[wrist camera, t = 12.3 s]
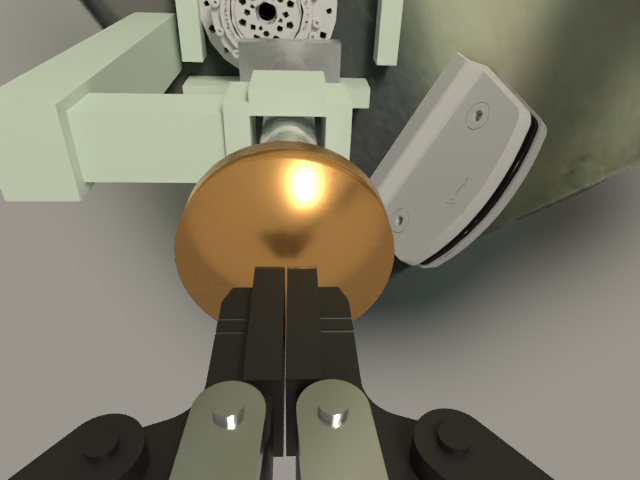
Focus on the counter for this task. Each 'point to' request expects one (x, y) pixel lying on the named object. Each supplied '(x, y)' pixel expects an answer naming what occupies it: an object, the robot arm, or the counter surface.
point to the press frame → (157, 107)
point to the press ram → (285, 201)
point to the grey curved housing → (456, 162)
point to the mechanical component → (264, 22)
